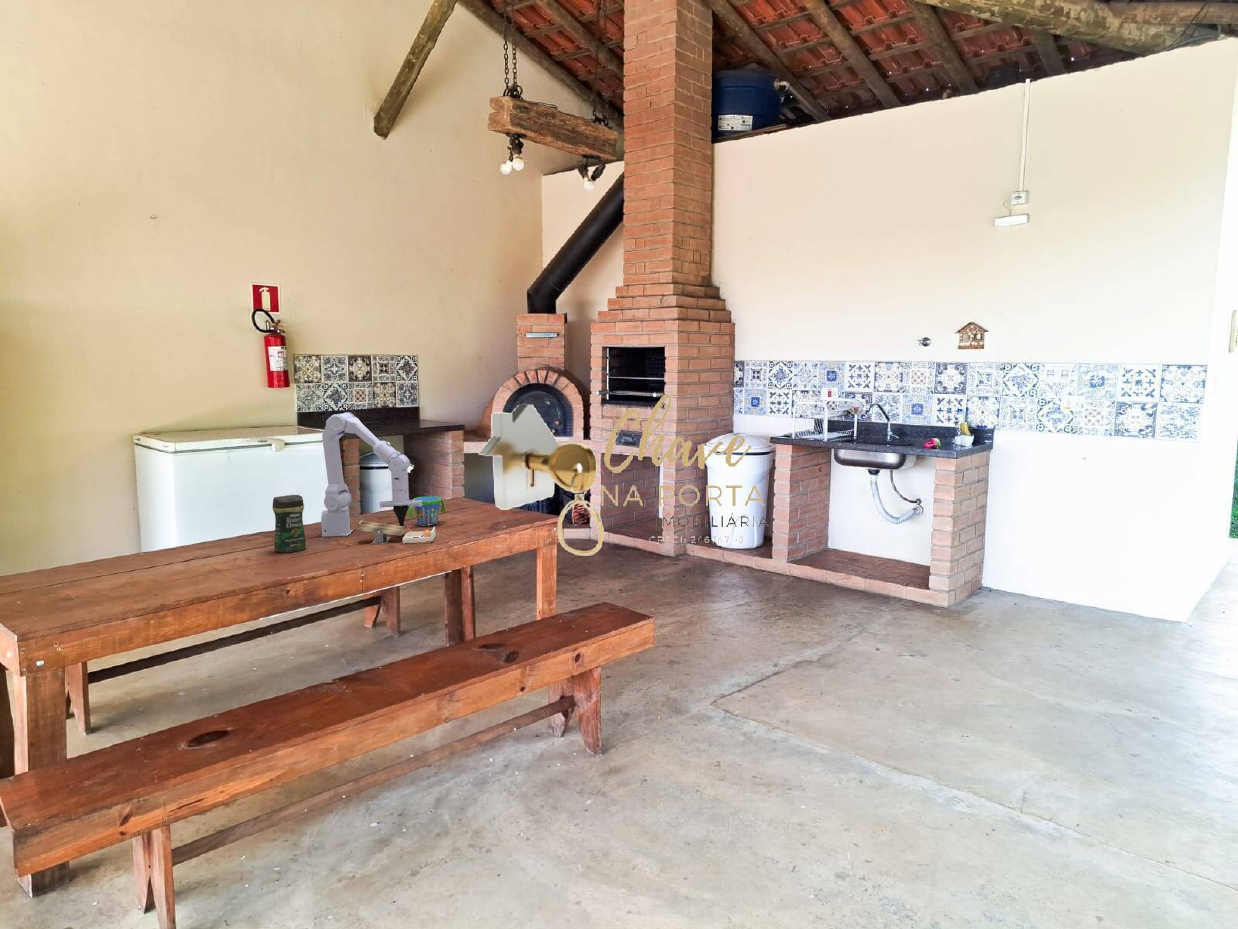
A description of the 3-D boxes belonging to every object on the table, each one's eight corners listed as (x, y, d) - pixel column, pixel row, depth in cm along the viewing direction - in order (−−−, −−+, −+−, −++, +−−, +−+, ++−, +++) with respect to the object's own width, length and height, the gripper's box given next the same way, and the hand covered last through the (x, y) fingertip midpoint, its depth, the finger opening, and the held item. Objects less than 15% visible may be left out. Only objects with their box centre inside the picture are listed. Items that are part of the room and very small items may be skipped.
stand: (371, 544, 276) (371, 530, 276) (376, 538, 285) (375, 524, 284) (386, 543, 277) (386, 529, 276) (390, 538, 286) (390, 524, 285)
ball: (424, 529, 281) (432, 533, 281) (425, 527, 284) (433, 531, 284) (420, 537, 281) (429, 540, 281) (422, 535, 284) (430, 538, 284)
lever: (357, 530, 277) (358, 523, 276) (364, 522, 289) (365, 515, 289) (401, 535, 279) (402, 529, 278) (406, 527, 291) (407, 521, 291)
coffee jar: (280, 554, 263) (277, 499, 260) (271, 550, 269) (268, 495, 266) (310, 549, 269) (306, 495, 267) (300, 545, 275) (297, 492, 272)
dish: (402, 543, 277) (402, 534, 276) (406, 537, 287) (406, 527, 286) (432, 543, 278) (431, 533, 278) (435, 536, 288) (435, 526, 287)
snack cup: (438, 519, 316) (437, 494, 315) (452, 523, 309) (452, 497, 307) (402, 525, 306) (401, 499, 304) (416, 530, 298) (415, 503, 296)
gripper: (377, 491, 282) (379, 529, 284) (419, 490, 283) (421, 528, 285) (380, 488, 289) (382, 525, 291) (422, 487, 290) (423, 524, 292)
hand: (401, 526), depth 289 cm, fingers closed, pressing on lever
